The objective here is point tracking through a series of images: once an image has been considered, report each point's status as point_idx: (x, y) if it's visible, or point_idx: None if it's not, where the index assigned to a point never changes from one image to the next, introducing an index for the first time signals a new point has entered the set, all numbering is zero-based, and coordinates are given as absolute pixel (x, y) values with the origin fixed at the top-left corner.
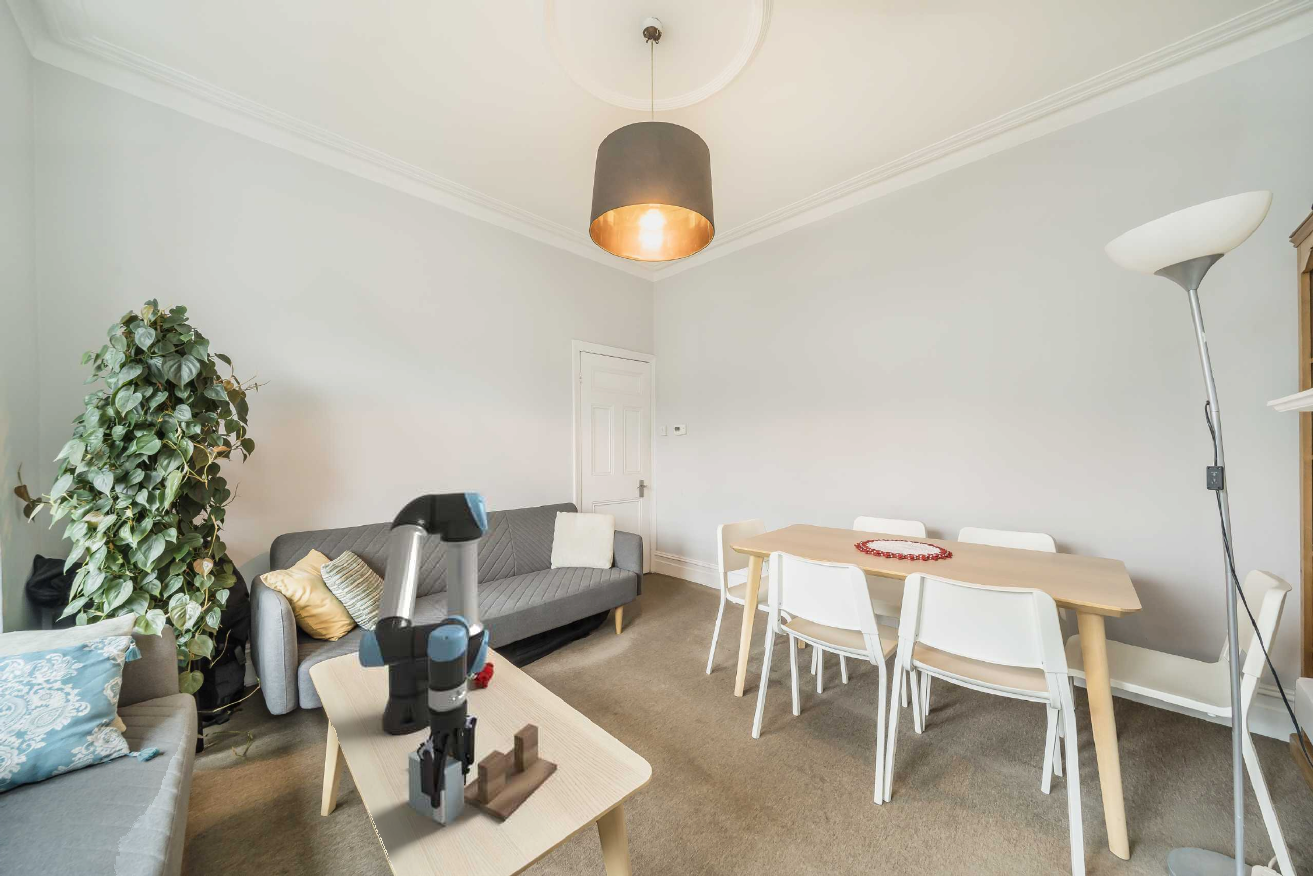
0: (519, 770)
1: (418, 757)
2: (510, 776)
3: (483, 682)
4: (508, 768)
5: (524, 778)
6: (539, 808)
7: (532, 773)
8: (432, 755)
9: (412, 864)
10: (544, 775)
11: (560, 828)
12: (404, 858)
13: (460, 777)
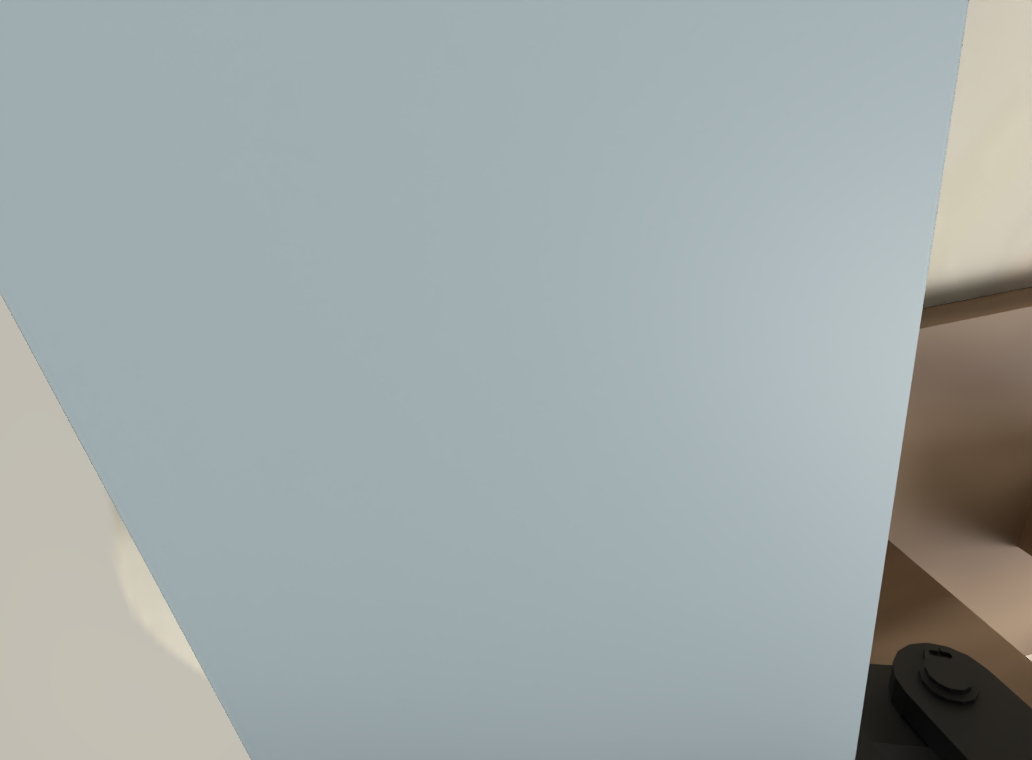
0: (1024, 517)
1: (195, 324)
2: (955, 520)
3: None
4: (1023, 444)
5: (966, 596)
6: None
7: (1019, 595)
8: (652, 620)
9: (160, 639)
10: (1021, 652)
11: None
12: (127, 571)
13: None
